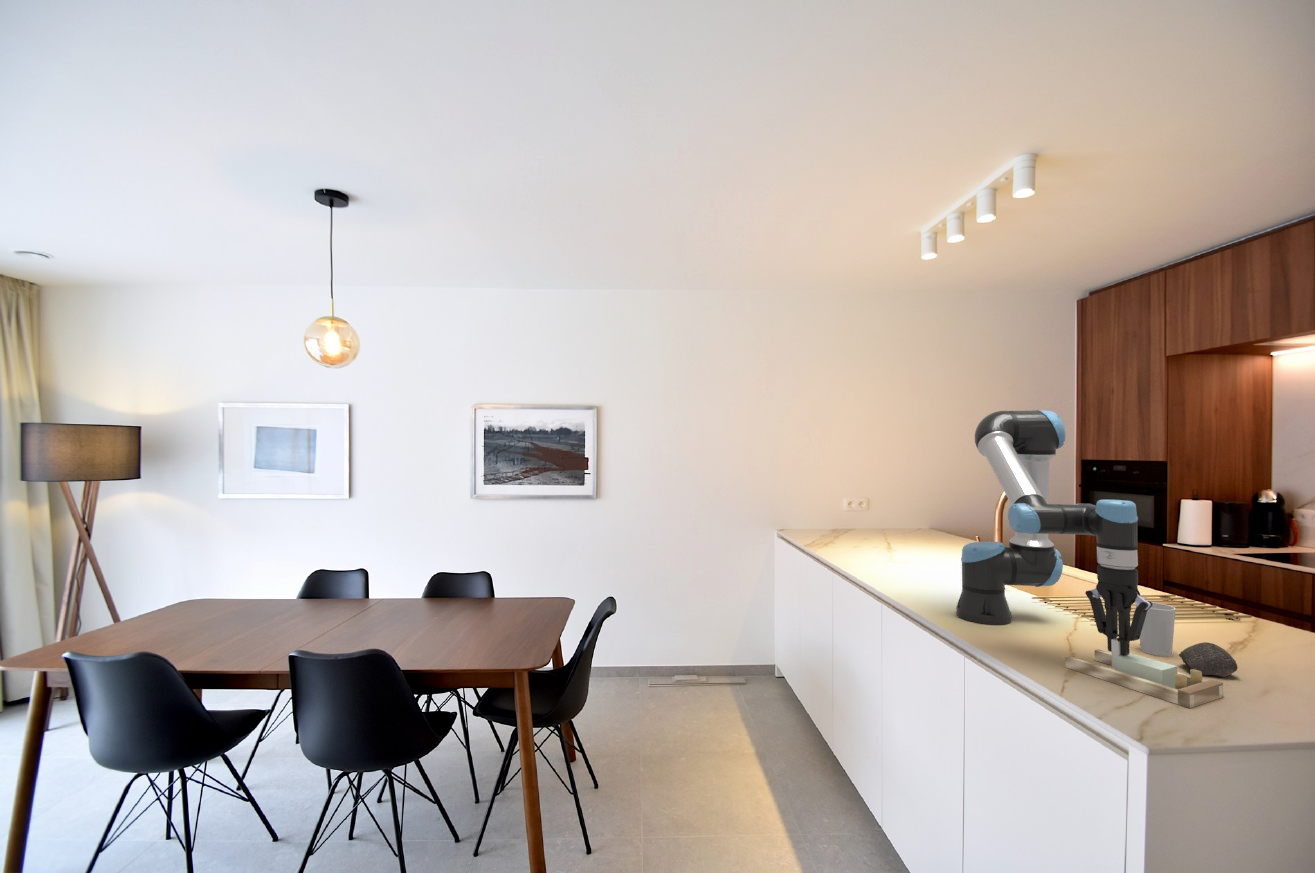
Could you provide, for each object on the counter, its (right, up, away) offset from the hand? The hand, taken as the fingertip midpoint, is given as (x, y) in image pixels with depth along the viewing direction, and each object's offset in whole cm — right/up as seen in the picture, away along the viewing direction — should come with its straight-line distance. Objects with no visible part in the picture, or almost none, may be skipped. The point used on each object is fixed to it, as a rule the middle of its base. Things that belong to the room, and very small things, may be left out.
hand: (1118, 667), depth 134 cm
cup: (+22, -2, +15) cm, 27 cm away
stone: (+23, -2, +2) cm, 23 cm away
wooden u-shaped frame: (+2, -2, -4) cm, 4 cm away
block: (+2, -2, -5) cm, 6 cm away
